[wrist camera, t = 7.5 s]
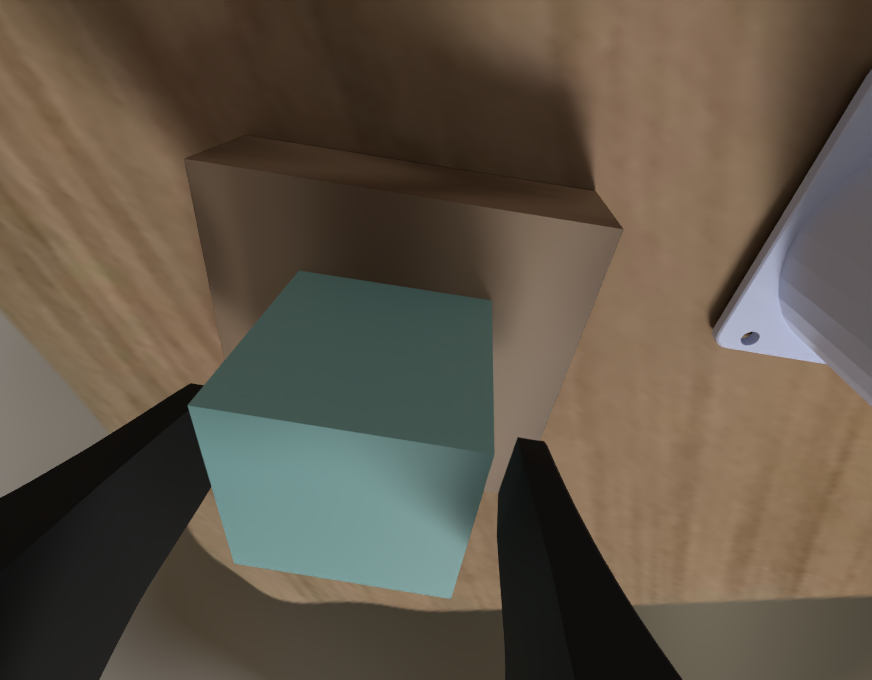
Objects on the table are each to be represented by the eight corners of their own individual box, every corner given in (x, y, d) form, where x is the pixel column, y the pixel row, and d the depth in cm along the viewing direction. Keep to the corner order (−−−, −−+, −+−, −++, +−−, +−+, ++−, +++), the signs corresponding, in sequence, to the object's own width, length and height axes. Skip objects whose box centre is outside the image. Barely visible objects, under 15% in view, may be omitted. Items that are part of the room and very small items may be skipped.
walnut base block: (595, 191, 12) (623, 229, 10) (513, 434, 18) (517, 496, 15) (245, 135, 12) (183, 158, 10) (276, 394, 18) (242, 450, 15)
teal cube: (492, 300, 11) (494, 454, 7) (461, 434, 14) (450, 598, 10) (299, 270, 11) (187, 405, 7) (309, 410, 14) (233, 563, 10)
